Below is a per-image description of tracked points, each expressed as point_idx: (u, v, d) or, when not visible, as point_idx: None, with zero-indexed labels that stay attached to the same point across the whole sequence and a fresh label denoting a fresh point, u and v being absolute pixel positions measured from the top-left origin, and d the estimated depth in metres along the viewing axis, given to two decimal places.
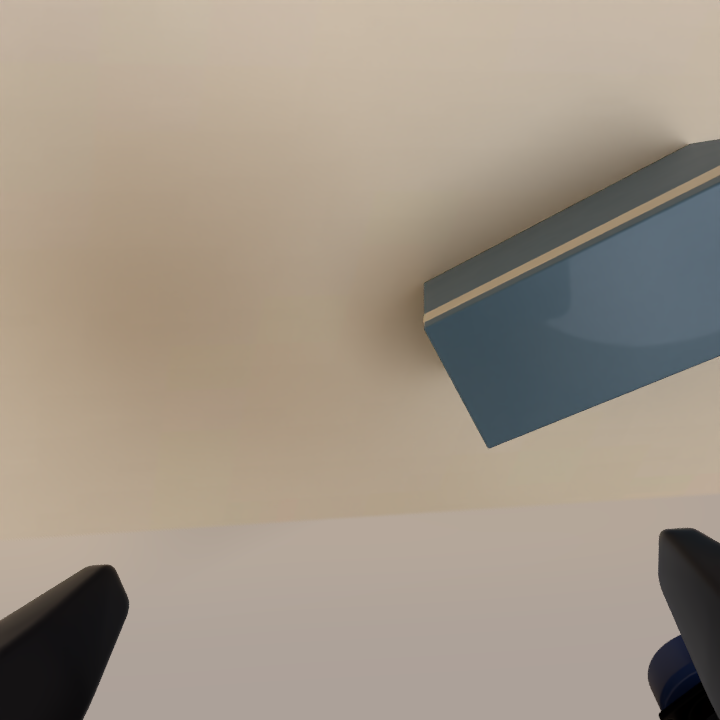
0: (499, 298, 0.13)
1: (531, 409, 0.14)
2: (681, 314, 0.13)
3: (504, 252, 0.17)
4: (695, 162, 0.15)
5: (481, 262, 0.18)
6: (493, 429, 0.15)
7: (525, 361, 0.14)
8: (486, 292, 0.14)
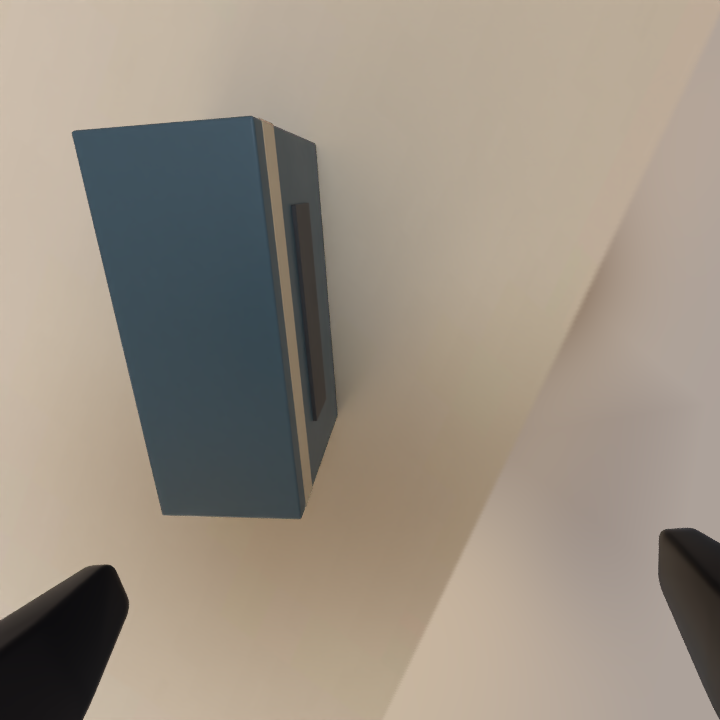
0: (153, 452, 0.14)
1: (271, 470, 0.14)
2: (216, 317, 0.12)
3: None
4: None
5: None
6: (280, 507, 0.14)
7: (219, 456, 0.14)
8: None
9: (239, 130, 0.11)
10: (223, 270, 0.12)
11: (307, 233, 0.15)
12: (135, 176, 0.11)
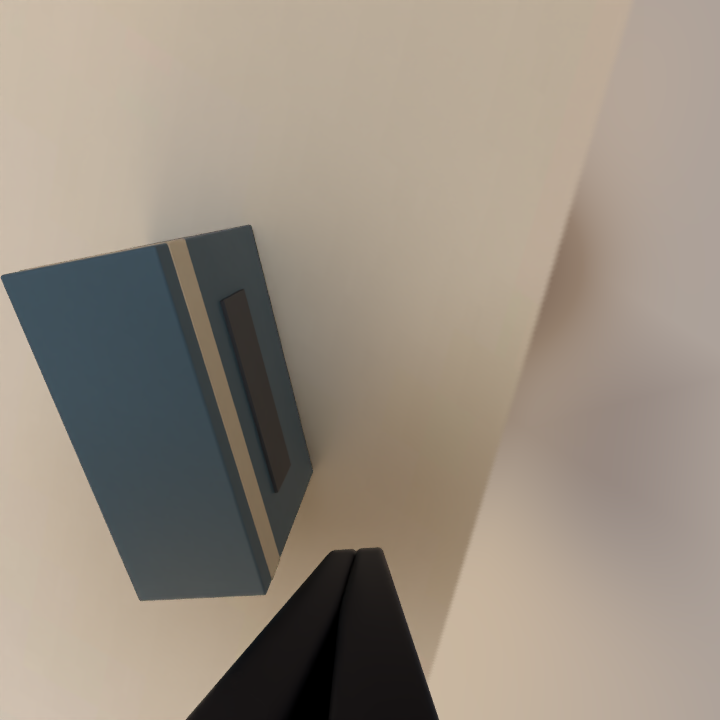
0: (121, 546, 0.15)
1: (230, 553, 0.15)
2: (155, 422, 0.13)
3: None
4: None
5: None
6: (245, 586, 0.15)
7: (181, 544, 0.15)
8: None
9: (144, 259, 0.12)
10: (153, 381, 0.13)
11: (244, 319, 0.16)
12: (61, 308, 0.12)
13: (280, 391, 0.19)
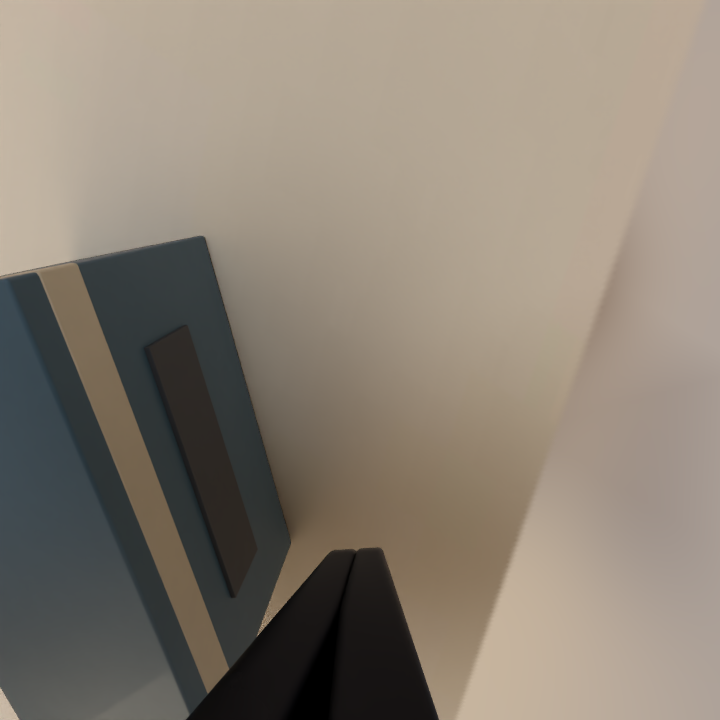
0: (8, 690, 0.11)
1: (158, 707, 0.10)
2: (36, 535, 0.09)
3: None
4: None
5: None
6: None
7: (89, 693, 0.10)
8: None
9: None
10: (28, 479, 0.08)
11: (187, 367, 0.12)
12: None
13: (244, 451, 0.14)
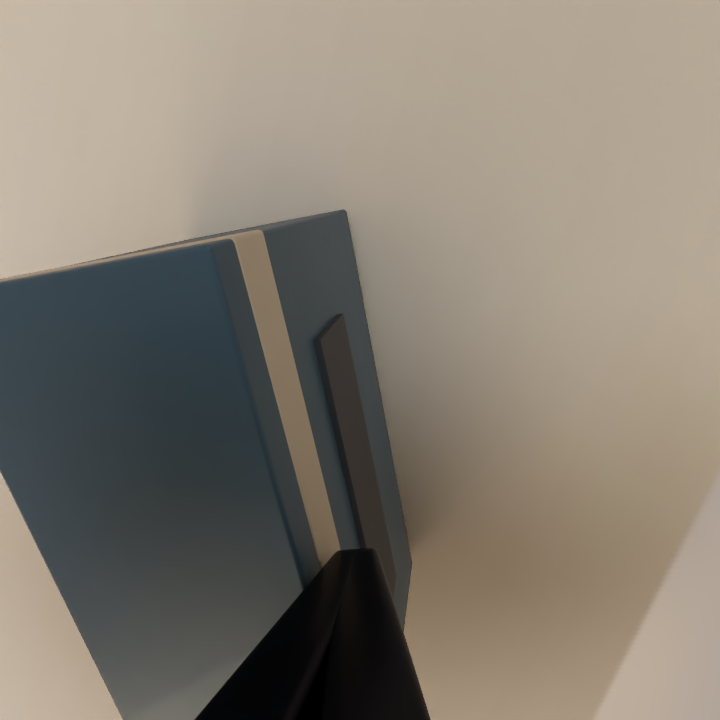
0: None
1: None
2: (200, 572, 0.07)
3: None
4: None
5: None
6: None
7: None
8: None
9: (188, 274, 0.05)
10: (199, 505, 0.07)
11: (345, 364, 0.10)
12: (28, 364, 0.06)
13: (381, 462, 0.12)
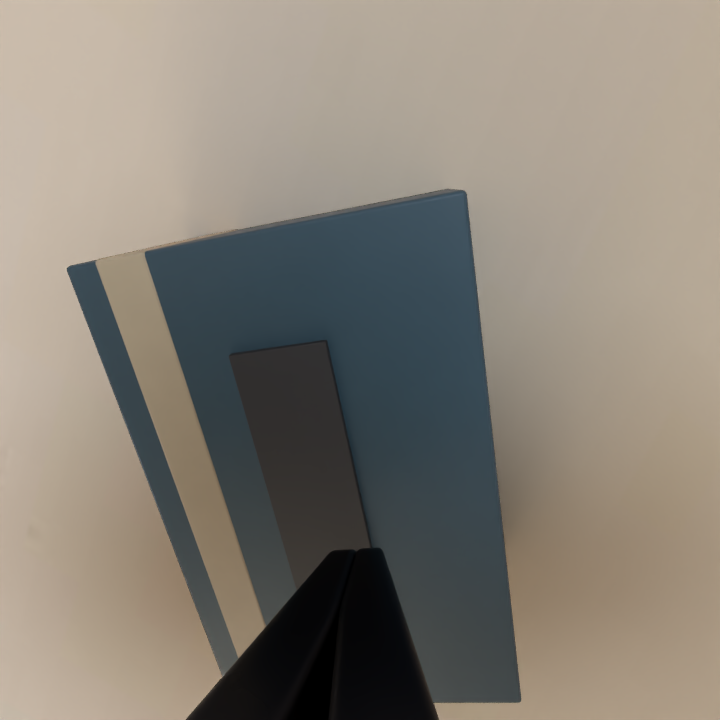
0: None
1: None
2: None
3: None
4: None
5: None
6: None
7: None
8: None
9: None
10: None
11: (302, 394, 0.08)
12: None
13: (429, 539, 0.09)
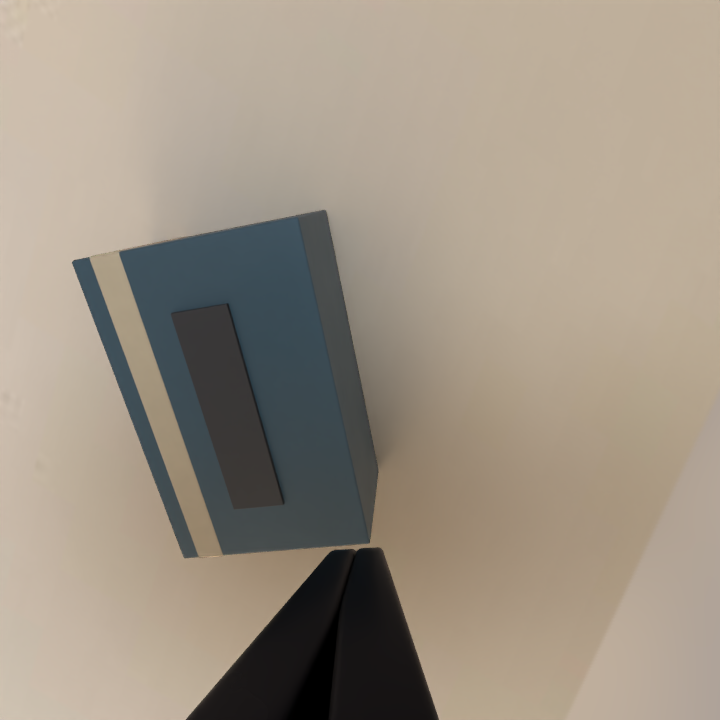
0: None
1: None
2: None
3: None
4: None
5: None
6: None
7: None
8: None
9: None
10: None
11: (215, 337, 0.14)
12: None
13: (300, 429, 0.15)
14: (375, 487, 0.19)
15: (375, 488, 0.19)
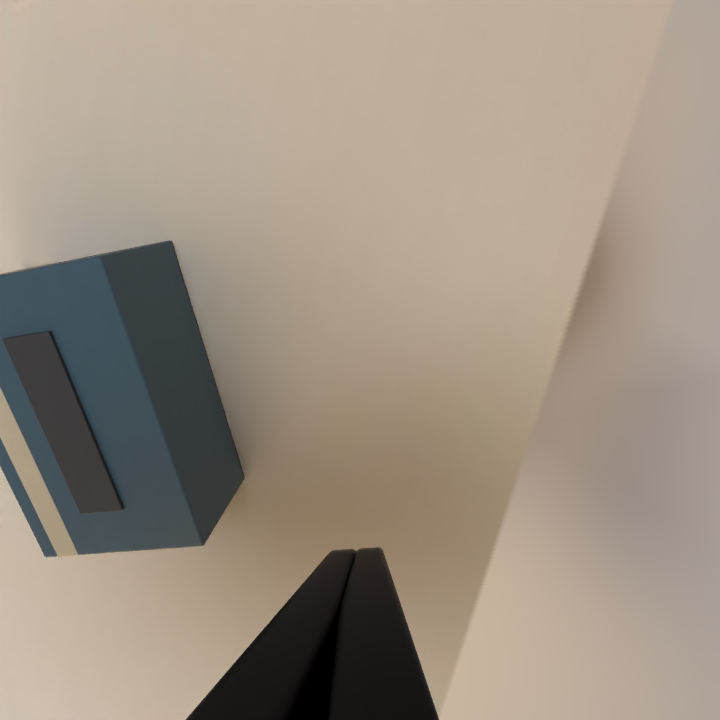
0: None
1: None
2: None
3: None
4: None
5: None
6: None
7: None
8: None
9: None
10: None
11: (43, 360, 0.16)
12: None
13: (128, 443, 0.17)
14: (231, 493, 0.21)
15: (231, 494, 0.21)
